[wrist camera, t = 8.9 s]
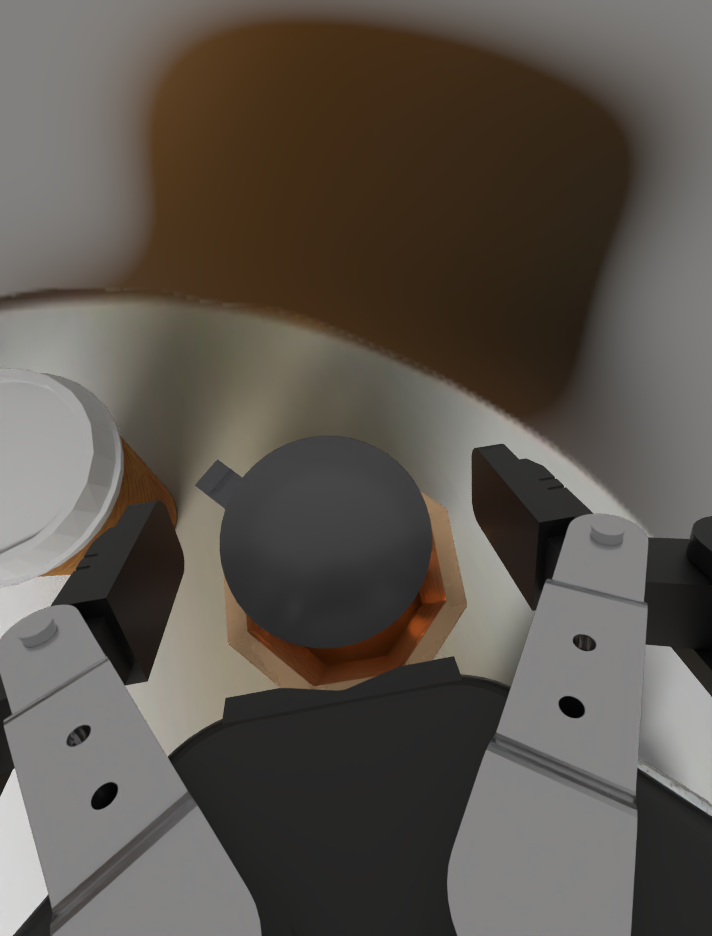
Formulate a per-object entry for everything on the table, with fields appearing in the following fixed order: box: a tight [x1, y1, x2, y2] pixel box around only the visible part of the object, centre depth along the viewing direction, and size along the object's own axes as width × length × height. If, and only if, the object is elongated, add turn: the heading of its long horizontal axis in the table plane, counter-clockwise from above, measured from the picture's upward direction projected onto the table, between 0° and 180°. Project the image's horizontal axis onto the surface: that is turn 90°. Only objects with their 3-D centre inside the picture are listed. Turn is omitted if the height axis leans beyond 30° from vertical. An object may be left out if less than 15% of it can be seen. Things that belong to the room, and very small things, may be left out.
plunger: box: [220, 436, 432, 648], centre depth 16 cm, size 4×4×15 cm
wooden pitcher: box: [195, 459, 467, 690], centre depth 23 cm, size 11×9×12 cm
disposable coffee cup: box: [0, 368, 177, 587], centre depth 24 cm, size 10×10×12 cm
